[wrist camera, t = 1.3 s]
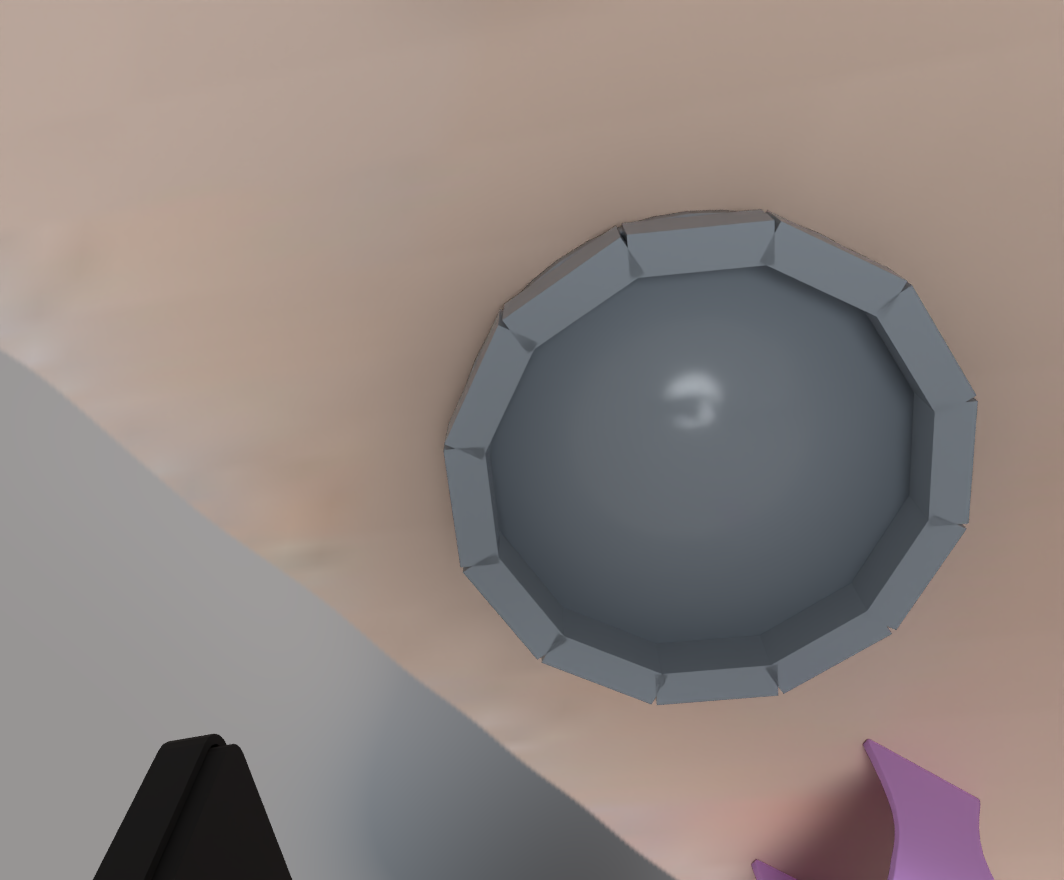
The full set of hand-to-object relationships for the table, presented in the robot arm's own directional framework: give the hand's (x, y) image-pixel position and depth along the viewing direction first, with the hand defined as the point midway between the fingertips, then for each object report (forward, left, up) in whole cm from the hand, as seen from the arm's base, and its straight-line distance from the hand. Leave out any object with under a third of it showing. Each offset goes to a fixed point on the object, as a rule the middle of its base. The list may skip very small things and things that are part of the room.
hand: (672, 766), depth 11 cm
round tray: (+1, +9, -26) cm, 27 cm away
